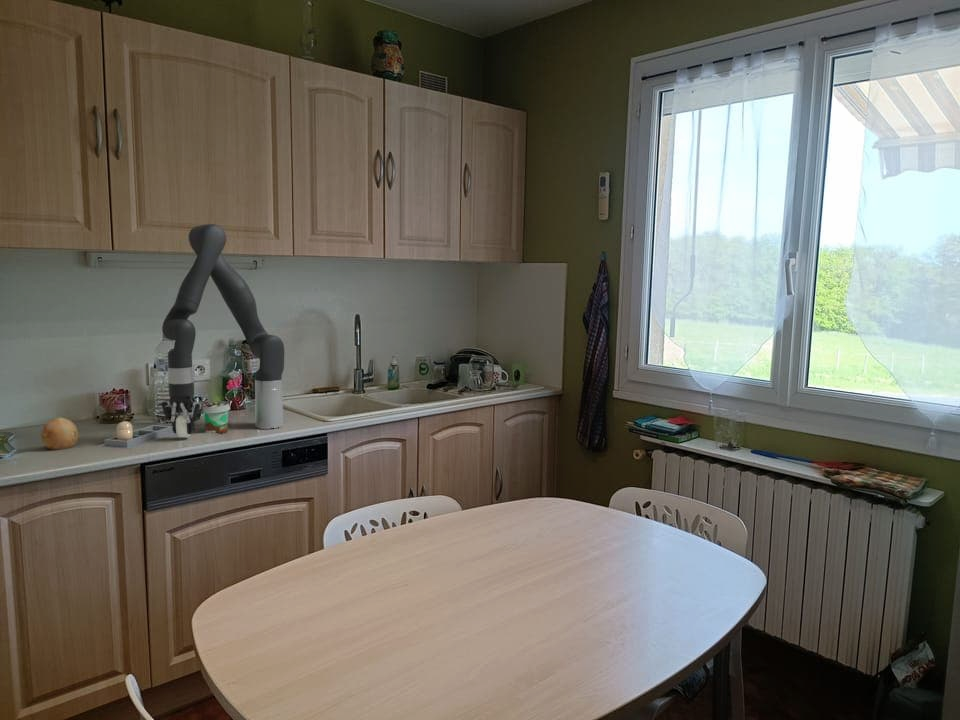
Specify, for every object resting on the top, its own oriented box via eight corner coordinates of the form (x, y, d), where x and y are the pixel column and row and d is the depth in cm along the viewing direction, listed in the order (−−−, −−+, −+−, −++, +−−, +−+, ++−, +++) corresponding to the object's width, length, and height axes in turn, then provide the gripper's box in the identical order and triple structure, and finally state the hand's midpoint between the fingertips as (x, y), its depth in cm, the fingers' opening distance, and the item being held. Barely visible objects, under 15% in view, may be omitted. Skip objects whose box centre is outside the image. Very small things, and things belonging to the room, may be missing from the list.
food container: (222, 437, 223) (221, 407, 222) (204, 436, 224) (203, 407, 222) (236, 428, 236) (235, 401, 234) (219, 428, 236) (218, 400, 235)
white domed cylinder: (181, 433, 218) (181, 412, 217) (194, 434, 217) (193, 413, 216) (173, 436, 214) (172, 415, 213) (185, 437, 213) (184, 416, 212)
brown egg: (124, 441, 211) (123, 419, 210) (136, 442, 210) (135, 420, 209) (113, 444, 207) (112, 422, 206) (126, 445, 206) (125, 423, 205)
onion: (73, 453, 199) (71, 421, 198) (35, 455, 197) (33, 421, 196) (84, 445, 209) (83, 414, 207) (49, 446, 206) (47, 415, 205)
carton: (149, 432, 228) (149, 424, 228) (181, 434, 226) (180, 426, 226) (96, 449, 205) (96, 440, 205) (130, 451, 203) (130, 442, 202)
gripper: (208, 380, 216) (210, 431, 218) (168, 378, 218) (171, 429, 221) (193, 383, 208) (196, 437, 211) (153, 382, 211) (156, 434, 213)
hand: (183, 433), depth 216 cm, fingers closed on white domed cylinder, 4 cm apart
